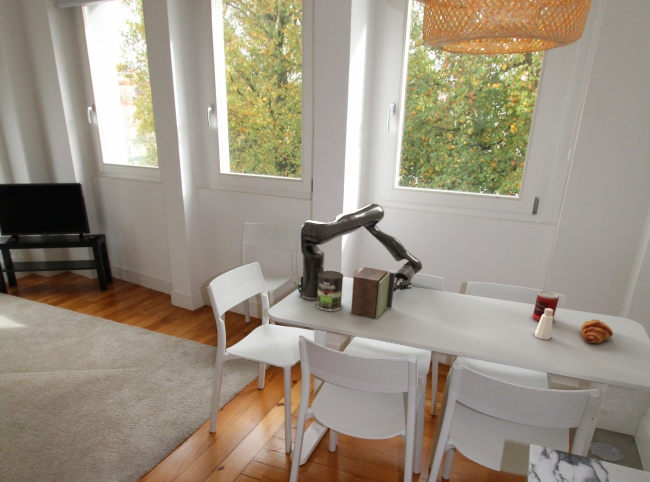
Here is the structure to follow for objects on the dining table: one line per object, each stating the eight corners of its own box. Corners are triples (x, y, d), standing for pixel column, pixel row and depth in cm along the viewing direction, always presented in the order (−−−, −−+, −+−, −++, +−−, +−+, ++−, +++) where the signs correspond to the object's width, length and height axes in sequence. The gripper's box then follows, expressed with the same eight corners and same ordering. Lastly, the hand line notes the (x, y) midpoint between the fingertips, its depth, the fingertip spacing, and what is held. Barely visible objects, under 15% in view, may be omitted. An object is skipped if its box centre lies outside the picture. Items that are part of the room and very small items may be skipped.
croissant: (589, 333, 186) (583, 314, 185) (618, 329, 179) (612, 309, 178) (578, 351, 170) (572, 330, 170) (609, 347, 164) (603, 325, 163)
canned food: (552, 317, 191) (559, 292, 187) (553, 324, 185) (559, 298, 180) (532, 314, 194) (538, 289, 190) (531, 321, 188) (538, 295, 183)
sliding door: (391, 307, 197) (395, 272, 191) (381, 319, 185) (385, 283, 179) (385, 305, 198) (389, 272, 192) (375, 317, 186) (378, 282, 180)
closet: (384, 306, 198) (388, 270, 191) (374, 318, 186) (378, 280, 180) (362, 302, 202) (364, 267, 195) (351, 314, 190) (353, 276, 183)
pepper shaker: (549, 341, 171) (556, 313, 167) (533, 337, 174) (540, 310, 169) (551, 335, 175) (558, 308, 171) (535, 332, 178) (542, 305, 173)
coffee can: (336, 312, 191) (338, 280, 185) (313, 308, 194) (314, 276, 189) (344, 304, 200) (346, 272, 194) (322, 300, 203) (323, 269, 197)
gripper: (416, 288, 210) (406, 300, 196) (387, 283, 215) (376, 295, 201) (418, 272, 207) (408, 283, 193) (389, 267, 212) (377, 278, 197)
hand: (392, 289), depth 197 cm, fingers closed
